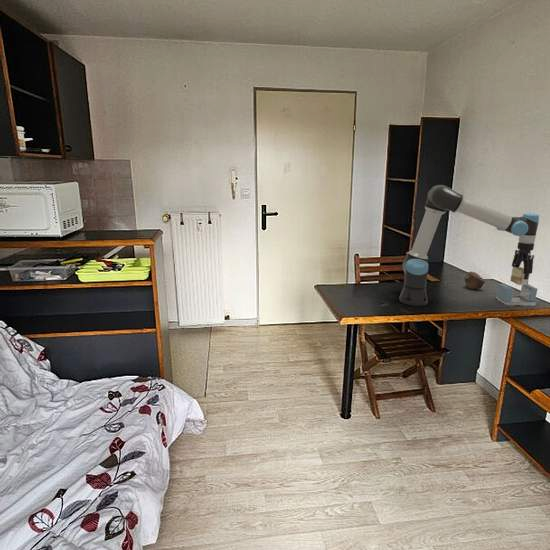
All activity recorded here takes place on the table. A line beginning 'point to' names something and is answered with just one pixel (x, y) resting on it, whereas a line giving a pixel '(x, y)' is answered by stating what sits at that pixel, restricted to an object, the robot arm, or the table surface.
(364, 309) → the table surface
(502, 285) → the jaw
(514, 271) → the block
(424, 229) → the robot arm
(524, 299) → the vise
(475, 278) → the rock
